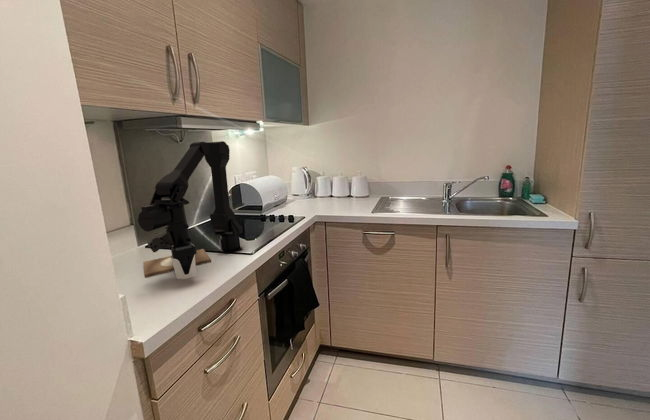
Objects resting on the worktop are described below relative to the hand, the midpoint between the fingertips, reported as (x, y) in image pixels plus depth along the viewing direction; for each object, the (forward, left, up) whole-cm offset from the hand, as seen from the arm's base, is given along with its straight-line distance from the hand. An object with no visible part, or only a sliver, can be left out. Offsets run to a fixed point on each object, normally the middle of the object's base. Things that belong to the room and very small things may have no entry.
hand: (185, 270), depth 100 cm
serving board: (+1, -14, -2) cm, 14 cm away
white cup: (0, 0, -2) cm, 2 cm away
